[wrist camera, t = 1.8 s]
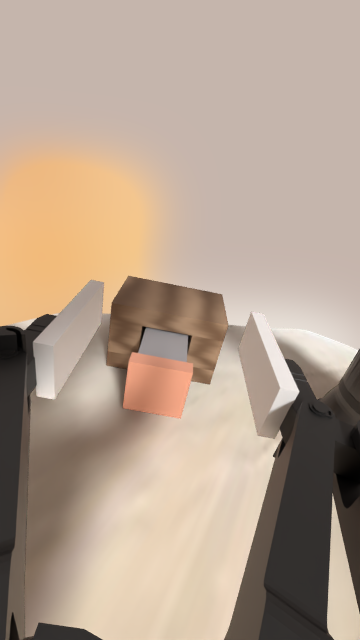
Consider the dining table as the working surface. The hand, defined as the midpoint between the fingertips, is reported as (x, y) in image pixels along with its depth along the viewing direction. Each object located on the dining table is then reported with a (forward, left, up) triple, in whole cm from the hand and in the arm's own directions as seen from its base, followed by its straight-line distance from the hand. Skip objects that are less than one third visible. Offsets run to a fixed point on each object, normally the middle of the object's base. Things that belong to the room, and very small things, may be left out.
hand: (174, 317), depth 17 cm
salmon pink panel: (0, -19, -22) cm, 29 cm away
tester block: (0, -29, -24) cm, 38 cm away
